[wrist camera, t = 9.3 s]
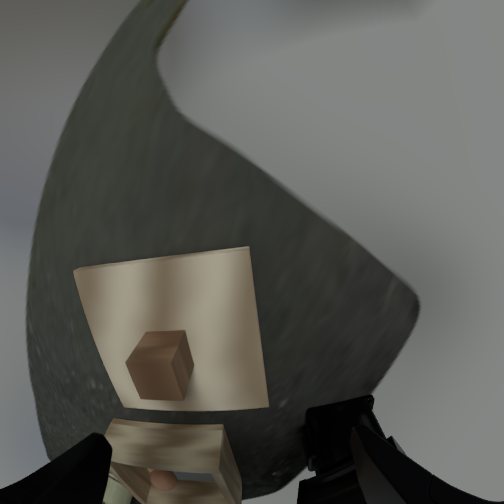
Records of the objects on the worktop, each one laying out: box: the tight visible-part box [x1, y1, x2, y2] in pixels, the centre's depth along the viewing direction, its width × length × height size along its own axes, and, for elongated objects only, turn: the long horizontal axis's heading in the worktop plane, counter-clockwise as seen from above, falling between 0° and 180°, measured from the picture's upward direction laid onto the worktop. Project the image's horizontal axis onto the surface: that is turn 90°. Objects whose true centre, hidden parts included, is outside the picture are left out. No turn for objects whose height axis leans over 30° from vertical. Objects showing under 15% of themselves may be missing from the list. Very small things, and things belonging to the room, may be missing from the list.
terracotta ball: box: [150, 469, 177, 491], centre depth 21 cm, size 3×3×3 cm
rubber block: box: [173, 471, 215, 481], centre depth 20 cm, size 4×4×3 cm
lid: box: [73, 246, 269, 411], centre depth 17 cm, size 13×13×6 cm
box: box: [104, 418, 242, 504], centre depth 20 cm, size 12×12×6 cm
